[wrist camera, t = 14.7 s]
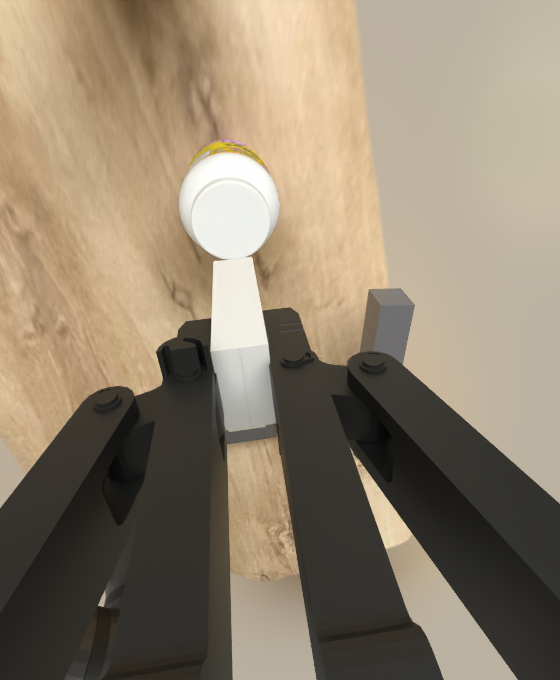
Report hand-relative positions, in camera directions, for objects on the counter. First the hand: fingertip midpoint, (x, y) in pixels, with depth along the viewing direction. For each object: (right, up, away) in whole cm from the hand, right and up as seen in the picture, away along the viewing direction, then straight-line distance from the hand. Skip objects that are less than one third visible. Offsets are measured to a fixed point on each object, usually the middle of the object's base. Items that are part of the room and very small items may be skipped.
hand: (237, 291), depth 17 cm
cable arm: (+10, -5, +24) cm, 27 cm away
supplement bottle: (-3, +11, +19) cm, 23 cm away
